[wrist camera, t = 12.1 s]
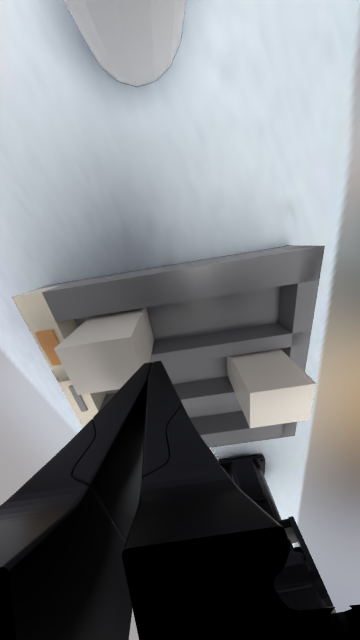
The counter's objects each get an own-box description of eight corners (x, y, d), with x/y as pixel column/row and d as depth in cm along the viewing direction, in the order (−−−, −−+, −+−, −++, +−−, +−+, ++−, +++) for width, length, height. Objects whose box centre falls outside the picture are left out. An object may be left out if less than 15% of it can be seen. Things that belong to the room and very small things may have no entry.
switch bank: (276, 406, 21) (295, 437, 18) (112, 430, 22) (101, 464, 18) (290, 245, 14) (327, 245, 11) (46, 285, 15) (9, 298, 11)
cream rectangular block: (154, 339, 15) (145, 385, 10) (108, 346, 15) (77, 395, 10) (145, 304, 14) (130, 336, 9) (95, 312, 14) (53, 348, 9)
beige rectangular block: (269, 369, 17) (309, 419, 12) (227, 375, 17) (249, 428, 12) (271, 339, 16) (316, 383, 11) (225, 346, 16) (250, 393, 11)
